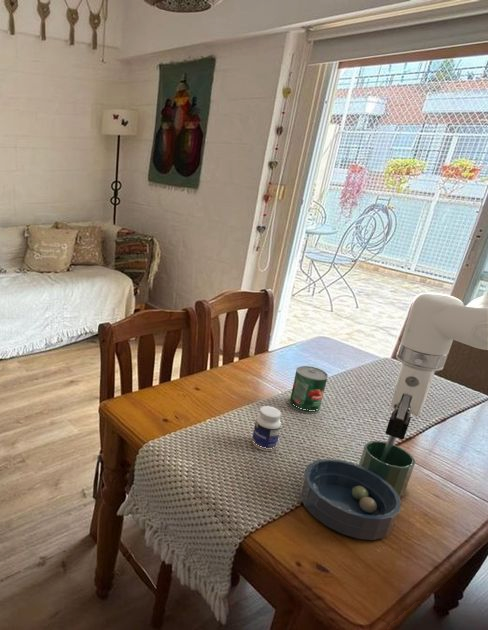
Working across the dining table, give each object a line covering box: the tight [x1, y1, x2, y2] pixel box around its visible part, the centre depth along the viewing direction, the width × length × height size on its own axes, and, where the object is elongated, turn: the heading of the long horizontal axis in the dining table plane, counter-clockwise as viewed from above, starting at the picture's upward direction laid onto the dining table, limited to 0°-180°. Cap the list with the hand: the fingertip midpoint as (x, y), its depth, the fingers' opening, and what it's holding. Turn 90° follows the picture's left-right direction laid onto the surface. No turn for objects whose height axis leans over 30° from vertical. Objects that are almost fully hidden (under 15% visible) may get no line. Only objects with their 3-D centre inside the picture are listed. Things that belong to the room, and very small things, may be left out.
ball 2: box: [359, 497, 377, 513], centre depth 89 cm, size 3×3×3 cm
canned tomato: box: [288, 365, 329, 415], centre depth 125 cm, size 8×8×11 cm
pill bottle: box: [251, 405, 282, 452], centre depth 108 cm, size 6×6×10 cm
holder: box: [358, 440, 416, 498], centre depth 96 cm, size 9×9×8 cm
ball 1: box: [351, 486, 369, 501], centre depth 92 cm, size 3×3×3 cm
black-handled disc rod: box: [380, 410, 407, 463], centre depth 95 cm, size 4×4×18 cm
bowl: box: [299, 458, 402, 541], centre depth 90 cm, size 17×17×6 cm
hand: (395, 432), depth 93 cm, fingers closed on black-handled disc rod, 2 cm apart
